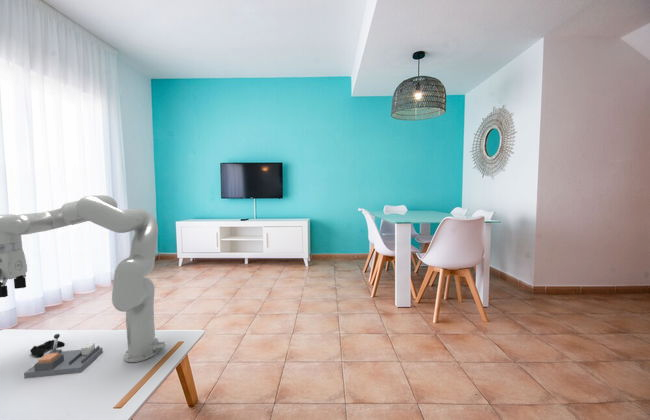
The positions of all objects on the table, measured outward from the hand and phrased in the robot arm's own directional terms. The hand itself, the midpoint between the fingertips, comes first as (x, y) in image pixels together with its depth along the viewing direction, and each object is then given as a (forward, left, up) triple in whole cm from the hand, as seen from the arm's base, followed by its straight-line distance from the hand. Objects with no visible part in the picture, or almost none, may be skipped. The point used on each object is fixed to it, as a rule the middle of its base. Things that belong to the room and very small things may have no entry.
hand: (11, 292), depth 104 cm
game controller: (-2, -11, -30) cm, 32 cm away
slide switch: (-23, -1, -27) cm, 36 cm away
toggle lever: (-10, -3, -26) cm, 28 cm away
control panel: (-17, +2, -29) cm, 34 cm away
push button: (-14, +5, -25) cm, 30 cm away
